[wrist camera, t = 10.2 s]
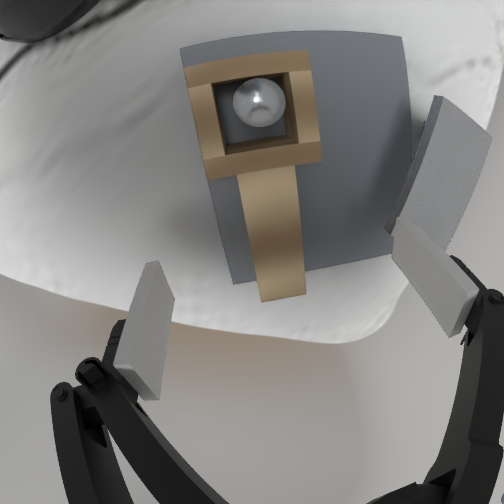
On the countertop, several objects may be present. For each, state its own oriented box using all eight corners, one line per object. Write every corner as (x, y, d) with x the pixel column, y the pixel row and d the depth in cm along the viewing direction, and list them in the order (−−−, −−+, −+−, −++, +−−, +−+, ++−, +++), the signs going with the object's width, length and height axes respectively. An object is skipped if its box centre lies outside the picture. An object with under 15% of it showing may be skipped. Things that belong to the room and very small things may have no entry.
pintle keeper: (229, 88, 18) (229, 82, 11) (436, 83, 18) (503, 92, 11) (256, 237, 25) (269, 300, 18) (434, 206, 25) (487, 248, 17)
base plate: (182, 51, 17) (179, 48, 15) (392, 38, 16) (401, 36, 15) (232, 274, 27) (233, 284, 26) (397, 243, 27) (404, 250, 25)
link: (192, 73, 16) (183, 67, 13) (292, 58, 16) (307, 49, 13) (236, 276, 25) (238, 306, 22) (314, 261, 25) (327, 289, 22)
